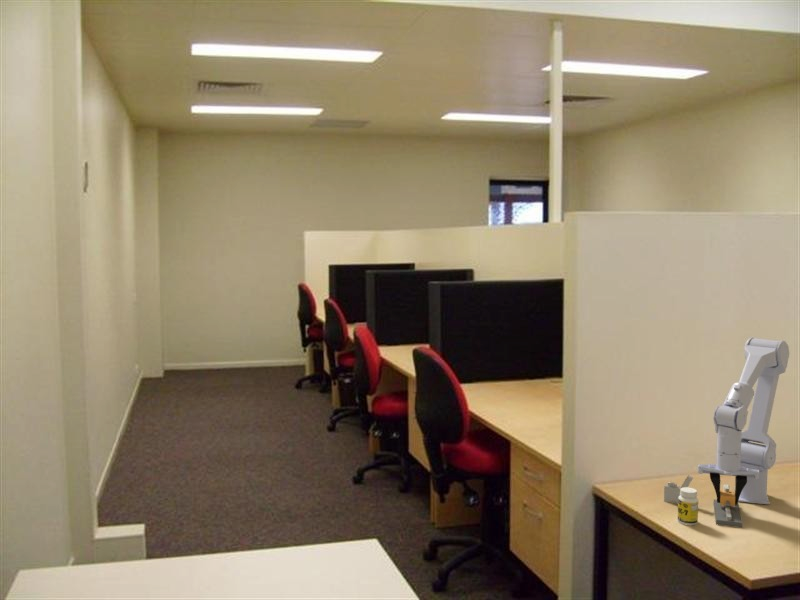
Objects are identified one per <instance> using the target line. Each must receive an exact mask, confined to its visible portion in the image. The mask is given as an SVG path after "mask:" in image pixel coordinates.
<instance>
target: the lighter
mask: <svg viewBox="0 0 800 600" xmlns="http://www.w3.org/2000/svg"><path fill="white" fill-rule="evenodd" d="M693 479H694V477H693V476H691V475H690V474H688V475H687V476H686V478H685V479H684V481H683V482H682V485H681V486H678V483H677V482H672V481H669V482H667V483H666V484H665V485H664V486H663V488H664V489H663V502H666V503H671V504H677V505H678V497H679V496H680V489H681V488H683V487H689V486H690V484H691V482H692V480H693Z"/></svg>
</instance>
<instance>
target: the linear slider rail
mask: <svg viewBox="0 0 800 600" xmlns="http://www.w3.org/2000/svg"><path fill="white" fill-rule="evenodd" d="M722 491H728V492H730V485H729V484H723V489H722ZM713 510H714V511H713V512H714V519H715V525H717V524H718V526H725V527H726V526H727V527H734V528H743V519H742V515H741V510H740V506H739V503H738V505H735V506H726V505H720V503H718V502H717V499H713Z"/></svg>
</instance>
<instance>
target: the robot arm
mask: <svg viewBox="0 0 800 600" xmlns="http://www.w3.org/2000/svg"><path fill="white" fill-rule="evenodd" d="M743 350H744V358H745V363H744V366H743V369H742V371H741V374H740V377H739V379H738V380H739V381H737V382H734V383H732V385H731V387H730V388H729V391H728V394H727V395H726V397H725V399H724V402H723V403H722V404H721V405H718V406H717V407H716V408H715V410H714V414H713V418H712V419H713V424H714V427H715V428H714V429H715V430H714V431H715V433H716V434H717V436H716V437H717V439H716V440H717V442H716V443H717V444H716V464H703V463H702V464H701V463H698V465H697V474H700V475H701V474H709V479H710V481H711V484H712V485H713V488H714V492H715V495H716V500H717V502H718V503H720V491H721V476H727V477H728V476H729V477H734V478H735V483H734V484H735V485H734V487H735V488H734V493H735V505H738V504H739V502H740V503H741V502H742V503H752V504H760V505H761V504H762V505H770V504H771V503H770V500H769V496H768V473H769V471H768V470H770V469H771V468H773V467H774V465H775V463H776V458H777V454H776V453H777V444H776V441H775V440H774V439H773V438H772V437H771V436H770V435H769V433H768V431H769V427H770V426H769V425H770V422H771V416H772V410H773V406H774V402H775V397H776V393H777V387H778V382H779V378H780V375H781V374H785V373H786V370H787V368H788V361H789V358H790V349H789V344H788V342H787V341H785V340H773V339H765V338H764V339H763V338H755V337H749V338H748V339H747V340H746V342H745V344H744V348H743ZM755 384H756V387H755V390H754V386H755ZM752 400H753V402H752ZM751 402H752V406H751V411H750V415H749V411H748V408H749V406H750V405H751ZM748 415H749V420H748ZM747 420H748V426H747V429H746V430H743V429H744V428H745V426H746V425H747ZM742 430H743V431H742Z"/></svg>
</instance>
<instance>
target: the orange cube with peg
mask: <svg viewBox="0 0 800 600" xmlns="http://www.w3.org/2000/svg"><path fill="white" fill-rule="evenodd" d="M720 505H726V506H735V491H734V492H733V491H729V492H728V491H723V490H720Z"/></svg>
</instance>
